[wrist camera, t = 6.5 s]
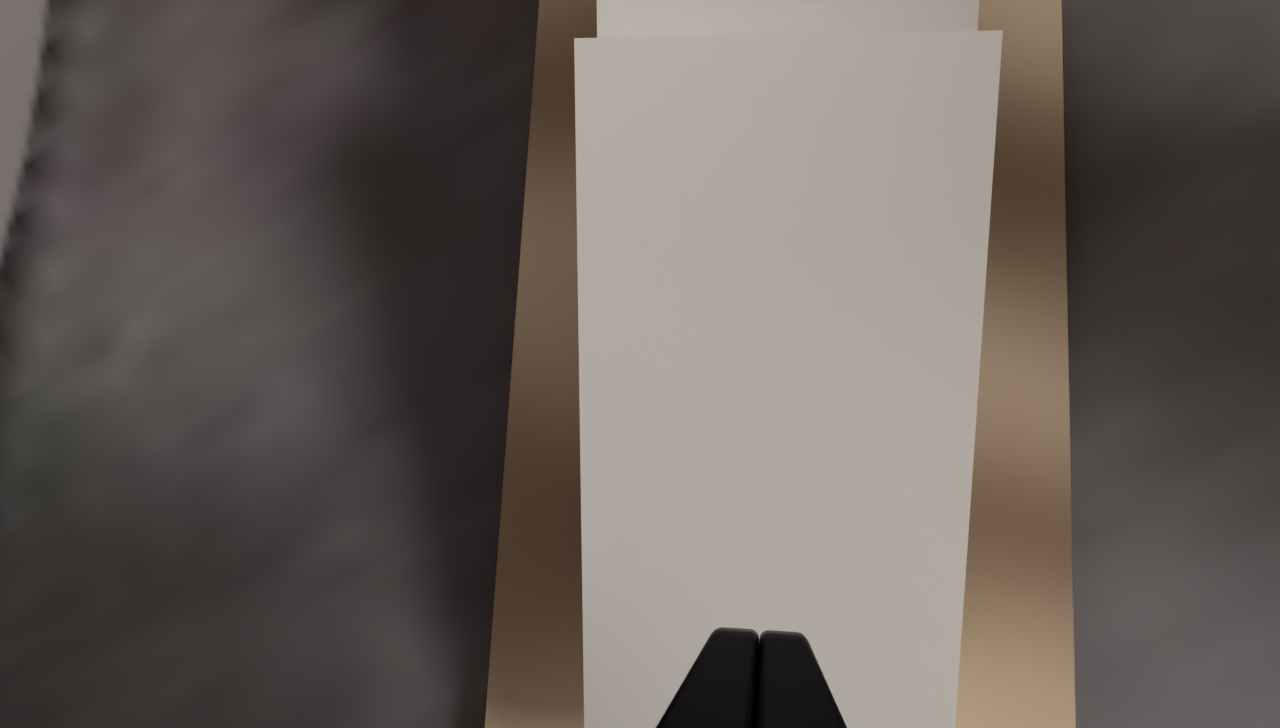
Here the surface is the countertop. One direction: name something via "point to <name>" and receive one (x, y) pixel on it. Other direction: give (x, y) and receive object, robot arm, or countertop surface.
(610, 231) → the domino
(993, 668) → the oak strip
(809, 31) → the domino
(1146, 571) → the countertop surface
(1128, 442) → the countertop surface
